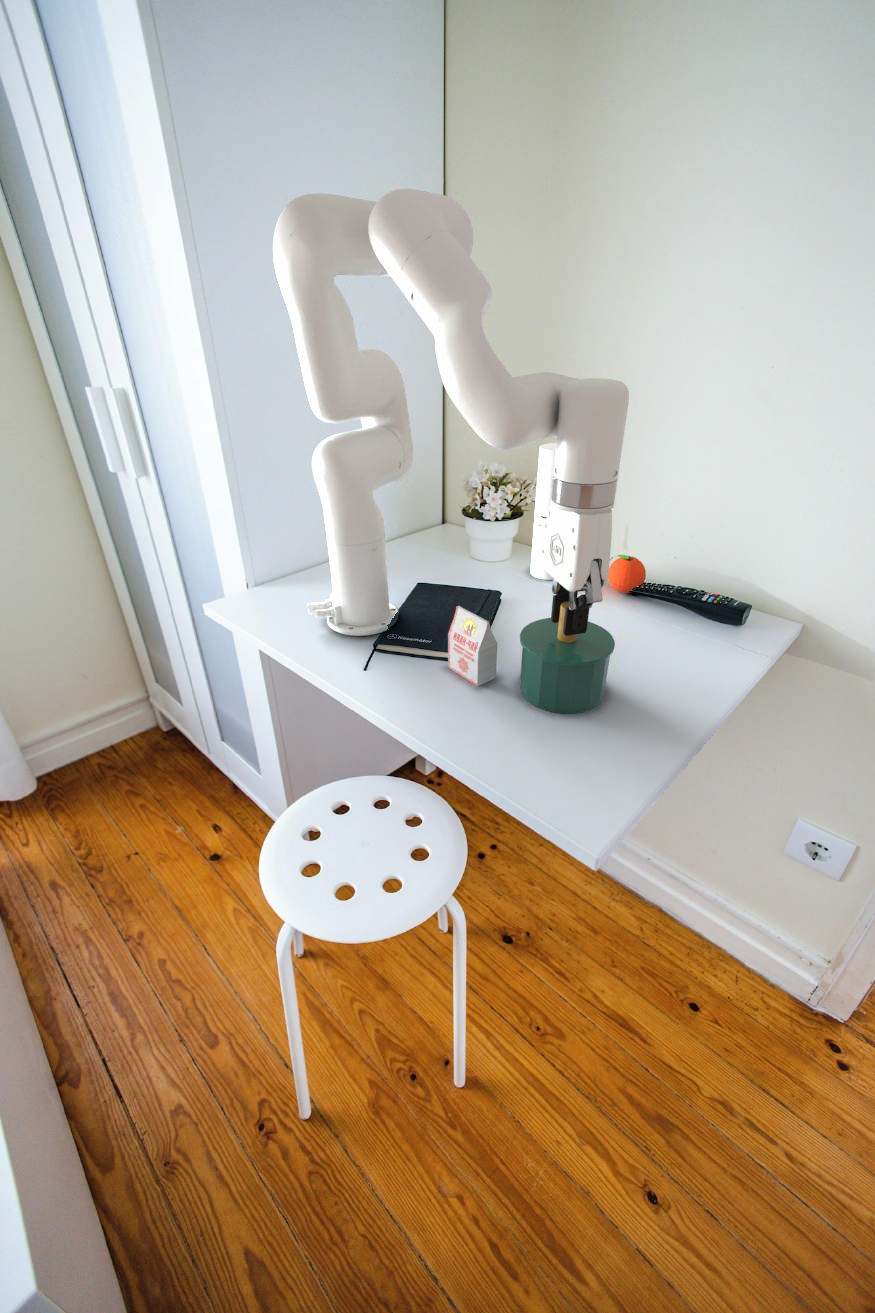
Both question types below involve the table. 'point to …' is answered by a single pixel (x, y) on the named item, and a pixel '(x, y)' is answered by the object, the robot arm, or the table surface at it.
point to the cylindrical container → (542, 507)
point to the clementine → (626, 573)
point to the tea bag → (472, 647)
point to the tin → (562, 684)
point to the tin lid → (566, 642)
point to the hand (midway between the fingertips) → (568, 625)
